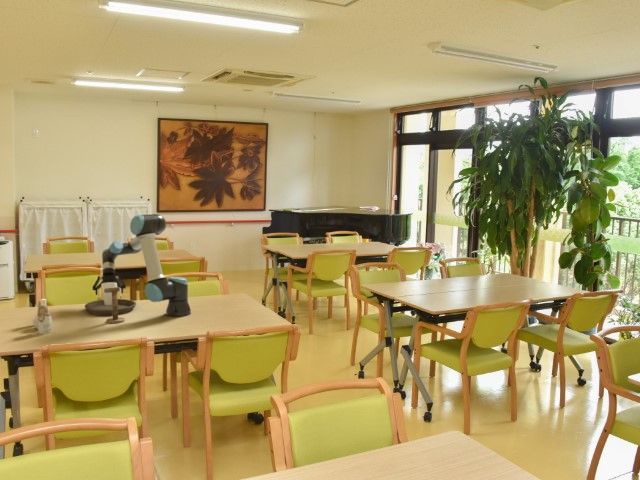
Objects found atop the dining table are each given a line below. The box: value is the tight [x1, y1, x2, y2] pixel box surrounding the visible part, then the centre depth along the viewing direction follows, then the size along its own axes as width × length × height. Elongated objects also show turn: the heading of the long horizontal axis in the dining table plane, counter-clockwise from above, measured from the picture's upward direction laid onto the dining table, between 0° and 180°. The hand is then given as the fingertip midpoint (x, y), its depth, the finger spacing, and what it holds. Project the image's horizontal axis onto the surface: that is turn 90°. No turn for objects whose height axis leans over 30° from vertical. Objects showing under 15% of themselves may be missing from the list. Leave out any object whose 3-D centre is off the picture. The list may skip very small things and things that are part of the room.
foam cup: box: [100, 282, 118, 305], centre depth 373 cm, size 10×9×13 cm
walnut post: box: [104, 286, 125, 325], centre depth 347 cm, size 10×10×20 cm
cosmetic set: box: [32, 298, 52, 335], centre depth 330 cm, size 25×9×19 cm, turn 32°
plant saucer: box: [84, 298, 137, 316], centre depth 374 cm, size 31×31×5 cm
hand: (109, 298), depth 371 cm, fingers open, 13 cm apart
